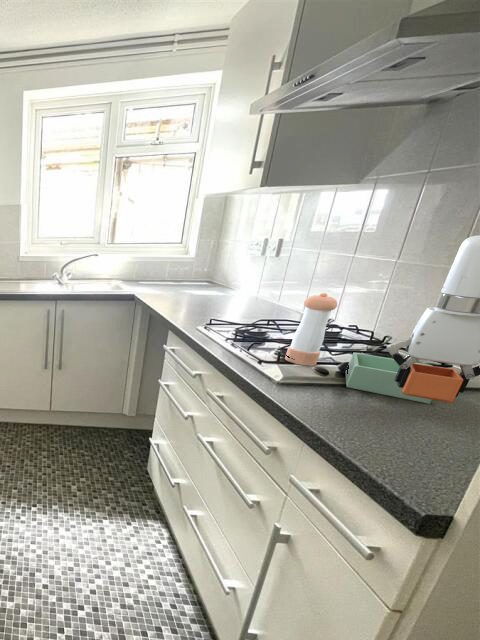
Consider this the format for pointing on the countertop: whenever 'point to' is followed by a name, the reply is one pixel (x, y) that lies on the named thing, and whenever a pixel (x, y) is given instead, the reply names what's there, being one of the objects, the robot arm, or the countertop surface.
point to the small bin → (432, 383)
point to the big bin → (376, 376)
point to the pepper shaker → (311, 330)
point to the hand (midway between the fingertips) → (425, 389)
